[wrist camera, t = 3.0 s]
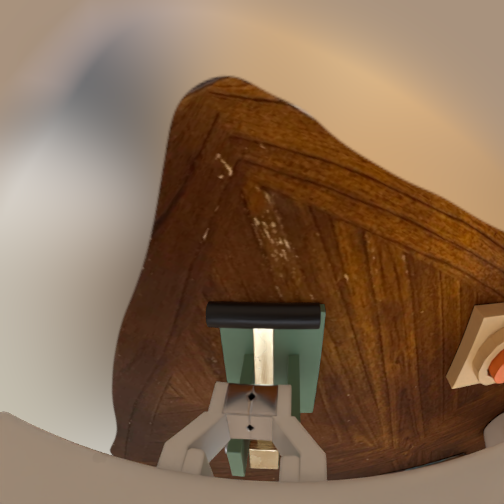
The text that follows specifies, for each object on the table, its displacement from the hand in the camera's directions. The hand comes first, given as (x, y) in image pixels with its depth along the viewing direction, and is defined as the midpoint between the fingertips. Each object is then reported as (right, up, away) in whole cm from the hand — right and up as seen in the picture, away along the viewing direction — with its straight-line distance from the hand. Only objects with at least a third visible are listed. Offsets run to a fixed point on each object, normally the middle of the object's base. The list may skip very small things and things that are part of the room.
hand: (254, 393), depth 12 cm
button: (+26, -6, +11) cm, 29 cm away
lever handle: (+1, -3, +8) cm, 9 cm away
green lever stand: (+2, -5, +17) cm, 18 cm away
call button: (+27, -4, +14) cm, 31 cm away
